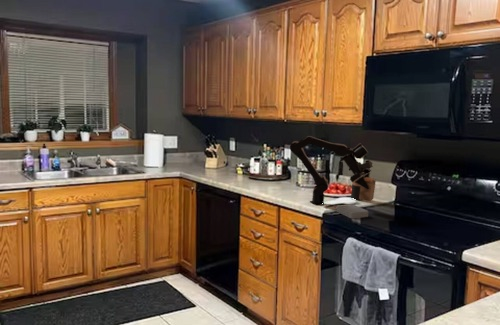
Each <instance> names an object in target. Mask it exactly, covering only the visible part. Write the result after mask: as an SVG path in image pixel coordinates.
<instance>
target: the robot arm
mask: <svg viewBox="0 0 500 325" xmlns="http://www.w3.org/2000/svg"><path fill="white" fill-rule="evenodd" d="M308 145H313V146H316V147H319V148H323V149H325V150H329V151H331V152H332V153H334V154H336V155H338V156H340V158H339V162H340V163H342V162H344V163H345V164H346V166H347V167H348V171H351V172H352V175H351V176H350V177H349V178H350V179H349V181H350V182H351V183H352V182H354V181H355V180H356V181H355V183H357V184H359V185H361V186H363V187H364V188H366V189H369V187H368V185H367V183H366V181H365V179H364V178H366V177H368V178H371V177H370V175H371V172H372V169H370V168H373V162H372V160H371V161H370V160H369V159H367V160H365V162H363V163H361V161H360V162H359V161H358V160H357V159H359V160H360V159H362V158H364V157H365V156H366V155H368V154H369V151H368V150H367V149H366V147H365V146H363V144H362V143H358V144H357V145H356V146H355V147H353V148H352V147H349V146H347V145H346V144H344V143H338V142H337V143H336V142H335V143H334V142H330V141H327V140H323V139H320V138H317V137H315V136H312V135H307V136H306V137H304V138H302V139H300V140H294V141H293V142H292V143H291V144H290V145H289V150H290V151H291V153H293V154H294V155H295V156H296V157H297V158H298V159H299V160H300V161H301V163H302V164H303V166H304V167H305V168H306V170H307V171H308V173H309V174H310V176H311V177H312V179H313V180H314V183H315V186H314V187H313V191H312V199H311V200H309V203H310V204H313V205H314V206H320V204H322V203H325V202H324V201H325V200H324V199H325V192H326V191H328V188H329V180H328V179H327V178H326V176H325V174H322V175H321V174H320V173H319V171H318V170H317V169H316V167H315V166H314V164H313V163H312V161H311V160H310V159H309V157H308V156H307V154H306V152H305V150H304V148H305V147H306V146H308ZM353 174H354V175H353Z"/></svg>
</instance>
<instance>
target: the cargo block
mask: <svg viewBox="0 0 500 325" xmlns="http://www.w3.org/2000/svg"><path fill="white" fill-rule="evenodd" d="M364 179H365V181H370V182H373V180H374V178H372V177H370V178H368V177H366V178H364Z"/></svg>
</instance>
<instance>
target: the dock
mask: <svg viewBox="0 0 500 325" xmlns="http://www.w3.org/2000/svg"><path fill="white" fill-rule="evenodd" d="M336 213H339V214H341V215H343V216H345V217H347V218H349V219H360V218H368V217H369V210H367V209H364V208H363V207H360V206H358V205H356V204H344V205H337V206H336Z"/></svg>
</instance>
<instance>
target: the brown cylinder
mask: <svg viewBox="0 0 500 325" xmlns="http://www.w3.org/2000/svg"><path fill="white" fill-rule="evenodd" d="M366 183H367V185H368V187H369V189H366V188H364V187H363V186H361V187H360V194H359V199H361V200H360V201H366V202H371V201H373V200H374V195H375V189H376V179H375V180H373V182H370V181H366Z"/></svg>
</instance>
